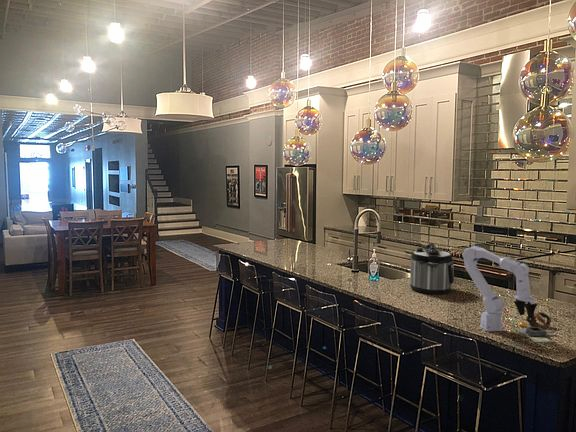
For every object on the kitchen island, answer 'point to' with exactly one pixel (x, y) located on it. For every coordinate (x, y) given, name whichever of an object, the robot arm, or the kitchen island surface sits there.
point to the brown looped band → (533, 320)
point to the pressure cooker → (431, 270)
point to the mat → (540, 339)
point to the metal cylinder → (522, 329)
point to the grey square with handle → (537, 332)
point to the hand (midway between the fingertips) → (526, 316)
